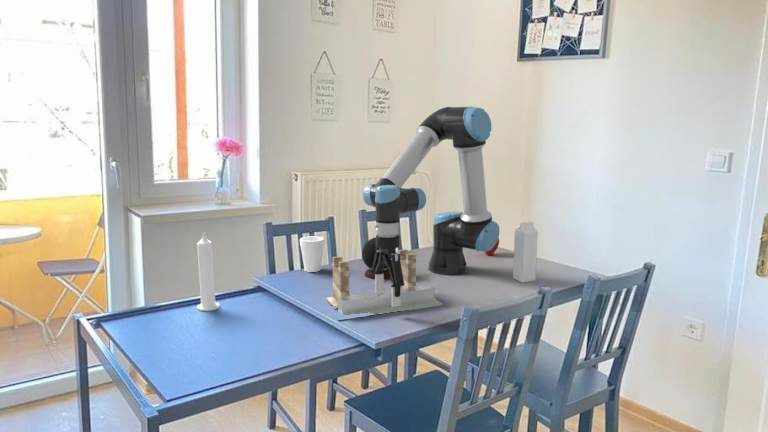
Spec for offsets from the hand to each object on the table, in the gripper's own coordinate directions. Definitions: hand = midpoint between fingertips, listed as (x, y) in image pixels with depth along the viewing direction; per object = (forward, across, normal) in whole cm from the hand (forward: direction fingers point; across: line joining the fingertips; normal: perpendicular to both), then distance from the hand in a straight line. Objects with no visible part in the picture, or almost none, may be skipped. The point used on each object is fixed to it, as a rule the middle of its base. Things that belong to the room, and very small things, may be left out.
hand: (387, 299), depth 184 cm
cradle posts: (+3, -11, 0) cm, 11 cm away
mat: (+3, 0, 0) cm, 3 cm away
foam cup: (+3, -52, -10) cm, 53 cm away
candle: (+3, -24, -53) cm, 58 cm away
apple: (+3, -45, +68) cm, 82 cm away
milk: (+3, -9, +60) cm, 61 cm away
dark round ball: (+3, -36, +12) cm, 38 cm away
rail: (+3, 0, 0) cm, 3 cm away
